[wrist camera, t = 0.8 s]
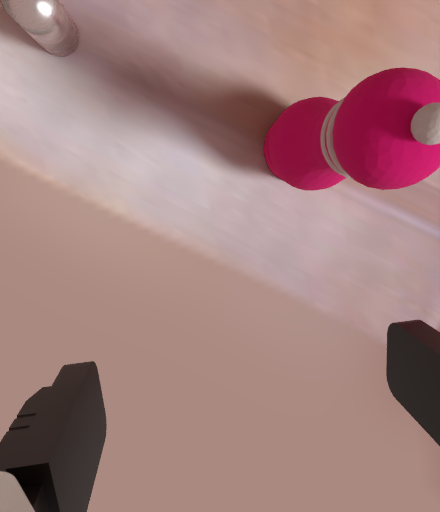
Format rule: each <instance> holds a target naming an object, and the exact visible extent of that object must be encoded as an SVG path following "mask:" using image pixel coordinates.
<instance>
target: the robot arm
mask: <svg viewBox="0 0 440 512" xmlns="http://www.w3.org/2000/svg"><path fill="white" fill-rule="evenodd" d="M387 381H388V385H389V388H390V390H391V392H392V394H393V396H394V397H395V398H396V399H397V401H398V402H400V404H401V405H402V406H403V407H404V408H405V409H406V410H407V411H408V412H409V413H410V414H411V416H412V417H413V418H414V419H415V420H416V421H417V422H418V423H419V424H420V425H421V426H422V427H423V428H424V430H425V431H426V432H427V433H428V434H429V435H430V436H431V437H432V438H433V439H434V440H435V441H436V442H437V444H438V445H439V446H440V332H438V331H437V330H435V329H434V328H432V327H431V326H429V325H428V324H426V323H425V322H423V321H421V320H412V321H404V322H397V323H392V324H390V325H389V327H388V332H387ZM105 437H106V414H105V408H104V403H103V397H102V391H101V386H100V381H99V375H98V370H97V366H96V364H95V362H93V361H92V362H84V363H76V364H69V365H64V366H63V367H62V369H61V370H60V372H59V374H58V376H57V377H56V379H55V381H54V383H53V385H52V386H50V387H43V388H41V389H40V390H39V391H38V392H37V393H35V394H34V395H33V396H32V397H30V398H29V399H28V400H27V401H26V402H25V404H24V405H23V407H22V409H21V410H20V412H19V413H18V415H17V419H15V420H14V421H13V423H12V424H11V426H10V428H9V431H8V432H6V434H5V436H4V437H3V439H2V440H1V442H0V512H87V508H88V504H89V500H90V497H91V493H92V489H93V485H94V481H95V477H96V473H97V469H98V465H99V461H100V458H101V454H102V450H103V446H104V442H105Z"/></svg>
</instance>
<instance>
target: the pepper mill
mask: <svg viewBox="0 0 440 512" xmlns="http://www.w3.org/2000/svg"><path fill="white" fill-rule="evenodd" d="M264 156H265V159H266V162H267V165H268V167H269V168H270V170H271V171H272V172H273V173H274V174H275V175H276V176H277V177H278V178H280V179H282V180H284V181H285V182H286V183H288V184H290V185H291V186H293V187H296V188H298V189H302V190H320V189H325V188H329V187H331V186H333V185H335V184H337V183H339V182H340V181H342V180H343V179H345V178H346V177H347V178H351V179H354V180H355V181H357V182H359V183H361V184H363V185H365V186H367V187H371V188H377V189H382V190H385V189H399V188H403V187H407V186H410V185H413V184H416V183H418V182H419V181H421V180H423V179H425V178H426V177H428V176H429V175H431V174H432V173H433V172H434V171H436V170H437V169H438V168H439V167H440V80H439V79H437V78H436V77H434V76H433V75H431V74H429V73H427V72H425V71H421V70H418V69H412V68H393V69H388V70H384V71H381V72H379V73H377V74H374V75H372V76H369V77H367V78H366V79H364V80H363V81H361V82H360V83H359V84H358V85H356V86H355V87H354V88H353V89H352V90H351V91H350V92H349V93H348V95H347V96H346V97H345V98H343V99H342V100H340V101H336V100H333V99H330V98H324V97H313V98H308V99H304V100H301V101H298V102H296V103H294V104H292V105H291V106H289V107H288V108H287V109H286V110H285V111H284V112H283V113H282V114H281V115H280V116H279V118H278V119H277V120H276V121H275V122H274V124H273V125H272V126H271V127H270V129H269V131H268V133H267V135H266V138H265V142H264Z"/></svg>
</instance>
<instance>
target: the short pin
mask: <svg viewBox="0 0 440 512" xmlns="http://www.w3.org/2000/svg"><path fill="white" fill-rule="evenodd" d="M1 2H2V5H3V7H4V9H5V10H6V12H7V13H8V15H9V16H10V17H11V18H12V19H13V20H15V21H16V22H17V23H18V24H19V25H20V26H21V27H22V28H23V29H24V30H25V31H26V32H27V33H28V34H29V35H30V36H31V37H32V38H33V39H34V40H35V41H37V42H38V43H39V44H40V45H41V46H42V47H43V48H44V49H45V50H46V51H47V52H49V53H50V54H52V55H55V56H60V57H62V56H67V55H69V54H71V53H72V52H73V51H74V50H75V49H76V47H77V45H78V42H79V32H78V29H77V27H76V25H75V23H74V22H73V20H72V19H71V17H70V16H69V14H68V13H67V11H66V10H65V8H64V7H63V5H62V4H61V2H60V1H59V0H1Z"/></svg>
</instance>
